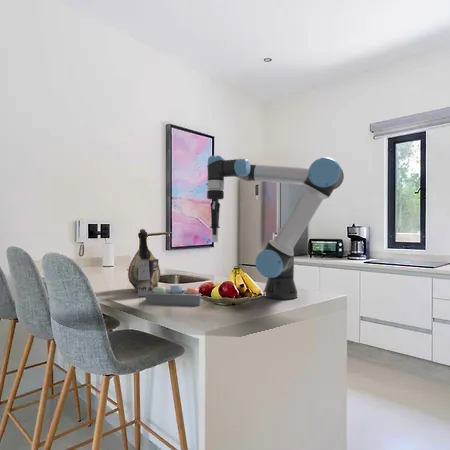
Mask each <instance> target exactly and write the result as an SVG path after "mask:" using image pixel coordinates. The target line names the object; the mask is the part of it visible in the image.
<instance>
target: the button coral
mask: <svg viewBox="0 0 450 450" xmlns="http://www.w3.org/2000/svg"><path fill="white" fill-rule="evenodd" d="M186 290H187V294H199V290H200V288H199V287H188V288H187V289H186Z"/></svg>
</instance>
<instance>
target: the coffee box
mask: <svg viewBox="0 0 450 450" xmlns="http://www.w3.org/2000/svg"><path fill="white" fill-rule="evenodd" d="M158 265H159V259H158V258H155V259H144V260H139V271H138V291H137V296H138V297H146V294H147V293H148V292H150V291H152V290H154V287H159V282H158Z"/></svg>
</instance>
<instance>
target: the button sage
mask: <svg viewBox="0 0 450 450" xmlns="http://www.w3.org/2000/svg"><path fill="white" fill-rule="evenodd" d="M166 289H167V287H165V286H158V287H154V293H166Z"/></svg>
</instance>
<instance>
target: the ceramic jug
mask: <svg viewBox="0 0 450 450" xmlns="http://www.w3.org/2000/svg"><path fill="white" fill-rule="evenodd" d="M148 235H149V234H148V232H147V231H146V229H144V228H141V229H140V230H139V232H138V234H137V236H138V239H139V243H140V244H139V247H138V250H137V251H136V252H135V254H134V255H133V258H132V260H131V261H130V264H129V266H128V271H127V272H128V273H127V278H128V282H129V283H130V284H131V285H132V287H133V288H134V290H135V292H138V271H139V260H144V259H156V257H155V256H154V255H153V253H152V251H151V250H149V247H148V242H147V238H148V237H149V236H148ZM160 279H161V269H160V266H159V264H158V283H159V281H160Z"/></svg>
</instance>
